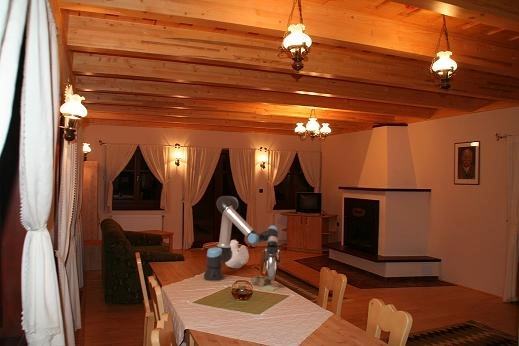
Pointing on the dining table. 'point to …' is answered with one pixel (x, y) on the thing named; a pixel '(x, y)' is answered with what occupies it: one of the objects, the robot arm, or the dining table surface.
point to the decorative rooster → (237, 255)
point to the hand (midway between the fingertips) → (271, 269)
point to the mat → (269, 287)
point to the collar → (260, 281)
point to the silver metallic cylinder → (271, 265)
